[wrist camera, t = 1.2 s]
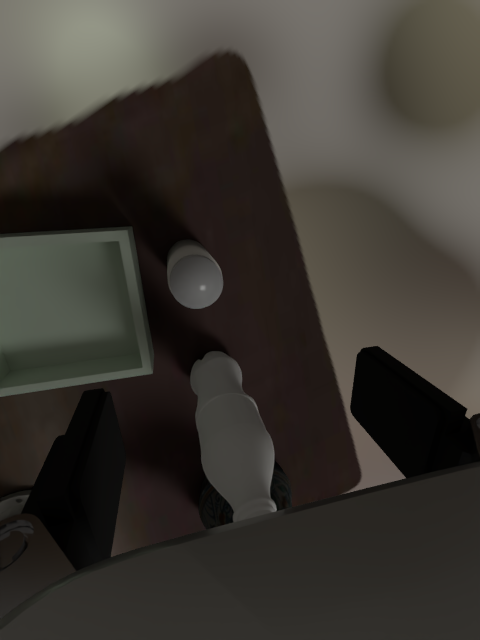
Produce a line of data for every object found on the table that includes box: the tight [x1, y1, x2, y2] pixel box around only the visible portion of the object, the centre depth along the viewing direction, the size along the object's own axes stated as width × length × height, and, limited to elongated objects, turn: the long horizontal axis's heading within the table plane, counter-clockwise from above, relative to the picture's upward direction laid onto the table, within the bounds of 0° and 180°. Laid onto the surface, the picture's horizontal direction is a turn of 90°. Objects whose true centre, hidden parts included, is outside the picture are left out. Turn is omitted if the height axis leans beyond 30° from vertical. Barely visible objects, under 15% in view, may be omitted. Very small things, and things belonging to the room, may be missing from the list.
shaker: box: [167, 239, 223, 309], centre depth 32 cm, size 5×5×12 cm
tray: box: [0, 226, 154, 397], centre depth 34 cm, size 17×18×5 cm
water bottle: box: [190, 351, 277, 522], centre depth 33 cm, size 7×7×25 cm
